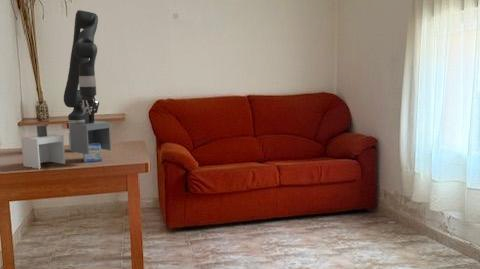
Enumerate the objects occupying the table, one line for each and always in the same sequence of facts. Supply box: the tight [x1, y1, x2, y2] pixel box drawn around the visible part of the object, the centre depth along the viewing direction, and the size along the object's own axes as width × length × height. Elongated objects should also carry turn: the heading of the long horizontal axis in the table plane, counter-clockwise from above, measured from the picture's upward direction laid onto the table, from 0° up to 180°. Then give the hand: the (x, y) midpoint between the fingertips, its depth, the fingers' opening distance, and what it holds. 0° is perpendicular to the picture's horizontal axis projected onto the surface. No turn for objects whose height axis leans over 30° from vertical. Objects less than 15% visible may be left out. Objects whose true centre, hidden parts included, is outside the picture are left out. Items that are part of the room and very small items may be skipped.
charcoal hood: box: [68, 112, 112, 155], centre depth 223 cm, size 13×13×19 cm
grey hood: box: [20, 124, 66, 170], centre depth 217 cm, size 13×13×19 cm
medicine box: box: [82, 143, 103, 163], centre depth 225 cm, size 8×4×9 cm, turn 117°
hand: (89, 121), depth 223 cm, fingers closed on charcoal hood, 3 cm apart
